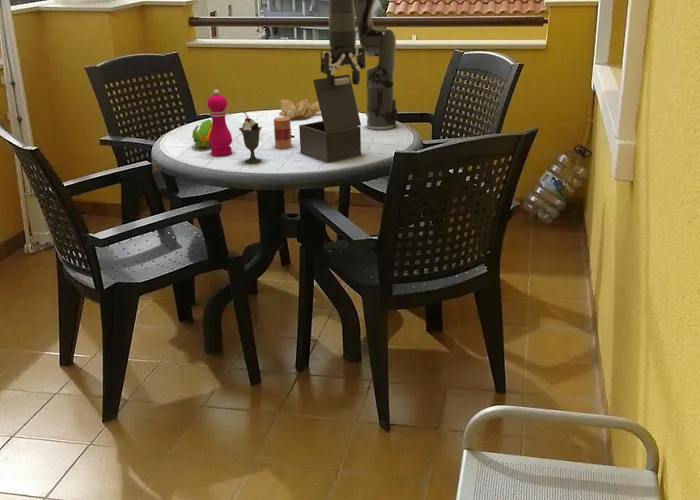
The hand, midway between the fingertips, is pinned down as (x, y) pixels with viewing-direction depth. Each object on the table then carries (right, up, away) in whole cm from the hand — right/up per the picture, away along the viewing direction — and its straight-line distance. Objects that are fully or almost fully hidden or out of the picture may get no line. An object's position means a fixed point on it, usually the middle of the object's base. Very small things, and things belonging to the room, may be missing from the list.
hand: (343, 86), depth 236 cm
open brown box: (-4, -18, +14) cm, 23 cm away
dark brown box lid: (-2, -4, +5) cm, 7 cm away
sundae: (-28, -21, +9) cm, 36 cm away
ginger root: (-18, +1, +64) cm, 67 cm away
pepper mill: (-38, -18, +18) cm, 46 cm away
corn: (-45, -13, +31) cm, 56 cm away
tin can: (-20, -15, +24) cm, 34 cm away
